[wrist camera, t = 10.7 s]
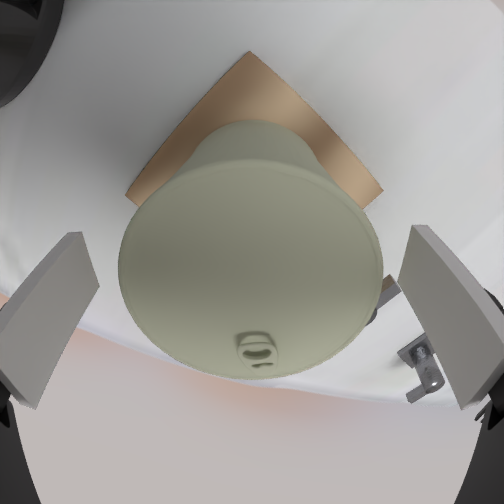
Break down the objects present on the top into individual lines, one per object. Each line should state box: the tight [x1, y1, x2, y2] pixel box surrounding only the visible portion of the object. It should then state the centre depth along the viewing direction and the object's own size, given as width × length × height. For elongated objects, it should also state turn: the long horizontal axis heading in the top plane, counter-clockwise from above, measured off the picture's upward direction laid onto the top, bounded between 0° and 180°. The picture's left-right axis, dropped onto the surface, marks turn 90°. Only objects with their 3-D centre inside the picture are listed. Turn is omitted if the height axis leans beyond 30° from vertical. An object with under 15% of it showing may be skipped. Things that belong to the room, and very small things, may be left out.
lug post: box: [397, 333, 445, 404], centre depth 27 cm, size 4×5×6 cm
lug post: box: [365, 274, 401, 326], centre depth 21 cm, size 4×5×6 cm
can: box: [118, 120, 383, 380], centre depth 15 cm, size 9×9×12 cm
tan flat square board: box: [125, 51, 383, 209], centre depth 20 cm, size 13×13×1 cm
